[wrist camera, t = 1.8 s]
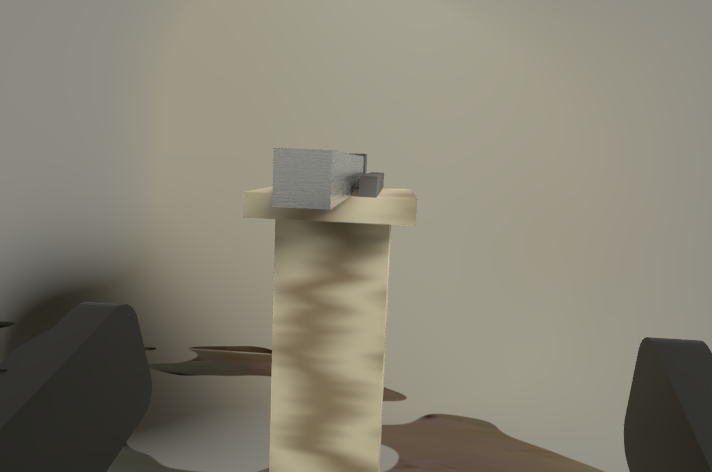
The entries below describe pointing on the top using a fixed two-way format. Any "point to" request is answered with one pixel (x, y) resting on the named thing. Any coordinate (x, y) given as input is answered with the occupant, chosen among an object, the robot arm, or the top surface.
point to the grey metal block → (315, 177)
